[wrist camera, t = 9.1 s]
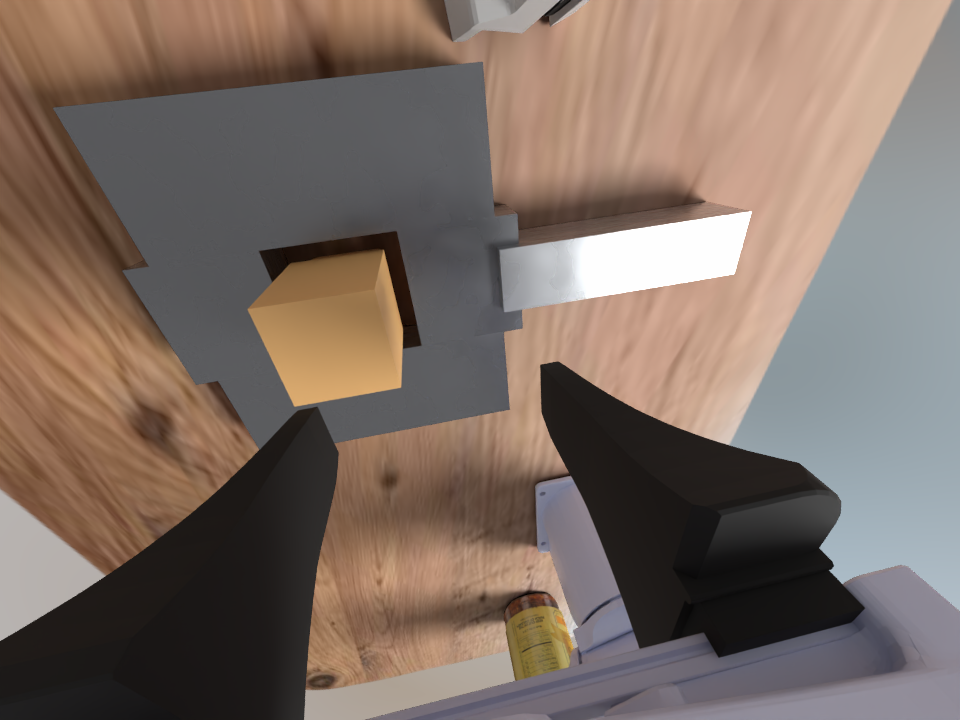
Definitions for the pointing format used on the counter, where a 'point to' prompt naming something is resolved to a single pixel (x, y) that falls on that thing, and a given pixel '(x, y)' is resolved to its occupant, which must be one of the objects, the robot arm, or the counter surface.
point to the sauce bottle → (536, 636)
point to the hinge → (504, 15)
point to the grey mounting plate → (360, 231)
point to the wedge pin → (332, 327)
